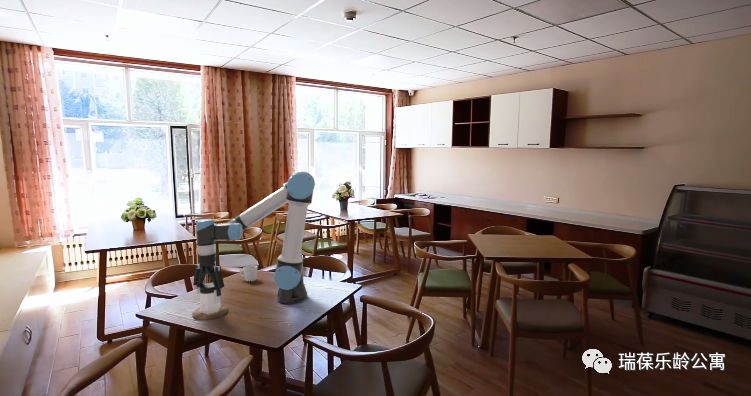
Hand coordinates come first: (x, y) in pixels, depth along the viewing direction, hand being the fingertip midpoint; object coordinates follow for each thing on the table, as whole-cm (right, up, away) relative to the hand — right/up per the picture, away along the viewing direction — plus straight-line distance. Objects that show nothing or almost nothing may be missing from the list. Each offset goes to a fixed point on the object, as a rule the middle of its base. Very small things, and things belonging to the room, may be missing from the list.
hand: (209, 301), depth 178 cm
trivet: (0, -6, +1) cm, 6 cm away
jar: (0, -5, 0) cm, 5 cm away
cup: (+2, -1, +49) cm, 49 cm away
